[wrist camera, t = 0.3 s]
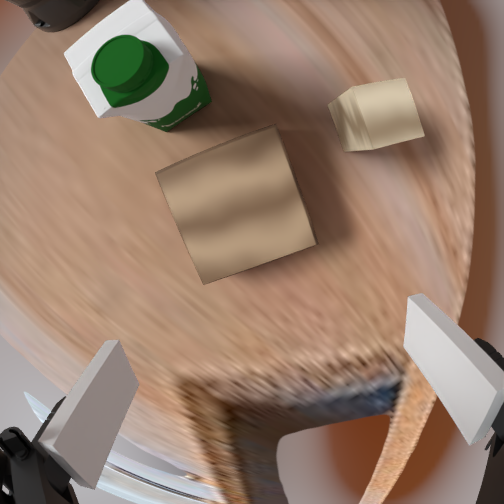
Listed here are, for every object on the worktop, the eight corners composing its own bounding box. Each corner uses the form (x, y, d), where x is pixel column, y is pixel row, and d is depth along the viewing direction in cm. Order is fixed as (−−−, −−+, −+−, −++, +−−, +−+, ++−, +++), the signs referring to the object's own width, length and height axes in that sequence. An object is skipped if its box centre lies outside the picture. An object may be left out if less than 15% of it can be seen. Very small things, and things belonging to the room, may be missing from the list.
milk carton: (164, 142, 35) (80, 127, 16) (131, 90, 32) (41, 47, 13) (222, 103, 33) (190, 43, 14) (186, 53, 31) (133, -27, 12)
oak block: (327, 104, 33) (352, 86, 24) (370, 94, 33) (405, 77, 23) (343, 151, 35) (373, 149, 25) (385, 140, 34) (424, 136, 25)
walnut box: (169, 170, 36) (152, 172, 29) (272, 129, 35) (276, 122, 28) (210, 267, 40) (202, 288, 33) (309, 231, 38) (320, 246, 32)
